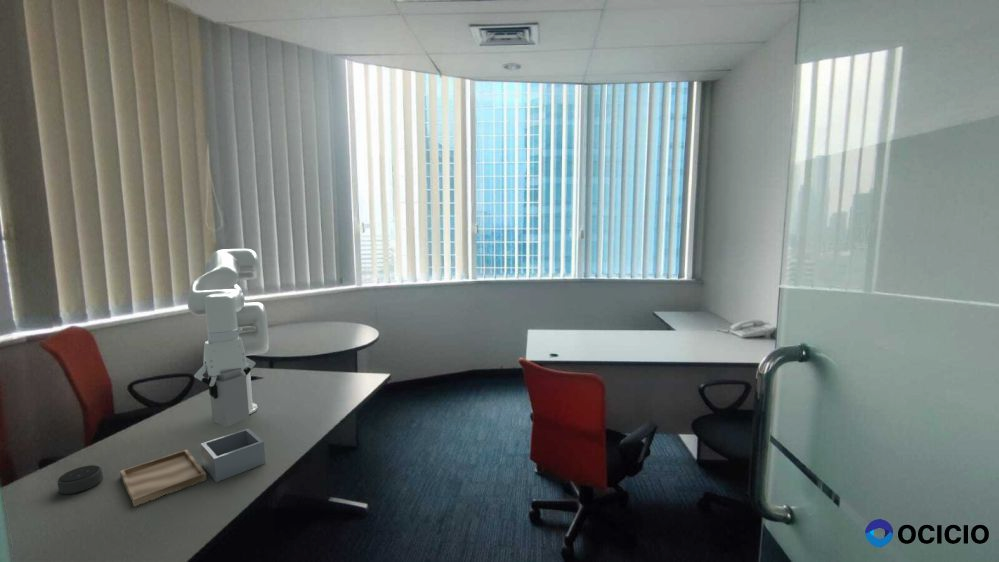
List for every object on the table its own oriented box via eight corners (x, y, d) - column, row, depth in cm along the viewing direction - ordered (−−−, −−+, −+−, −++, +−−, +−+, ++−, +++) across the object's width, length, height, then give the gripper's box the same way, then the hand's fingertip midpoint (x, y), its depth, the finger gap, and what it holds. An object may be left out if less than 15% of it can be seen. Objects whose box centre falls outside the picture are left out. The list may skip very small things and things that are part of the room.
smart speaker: (62, 484, 121) (60, 471, 121) (104, 473, 126) (103, 460, 126) (55, 500, 114) (53, 486, 114) (100, 488, 119) (99, 474, 119)
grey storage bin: (202, 465, 130) (200, 443, 129) (249, 448, 140) (248, 428, 139) (216, 482, 122) (214, 458, 121) (265, 463, 132) (263, 441, 131)
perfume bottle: (249, 417, 131) (244, 360, 128) (227, 426, 125) (221, 367, 122) (235, 412, 134) (230, 357, 131) (212, 421, 128) (207, 363, 125)
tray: (120, 477, 124) (120, 470, 124) (187, 455, 136) (186, 449, 136) (134, 506, 111) (133, 499, 111) (206, 479, 123) (205, 473, 123)
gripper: (250, 327, 135) (255, 382, 137) (184, 339, 122) (190, 399, 125) (260, 332, 130) (264, 388, 133) (191, 344, 117) (197, 406, 120)
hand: (228, 393), depth 129 cm, fingers closed on perfume bottle, 6 cm apart
